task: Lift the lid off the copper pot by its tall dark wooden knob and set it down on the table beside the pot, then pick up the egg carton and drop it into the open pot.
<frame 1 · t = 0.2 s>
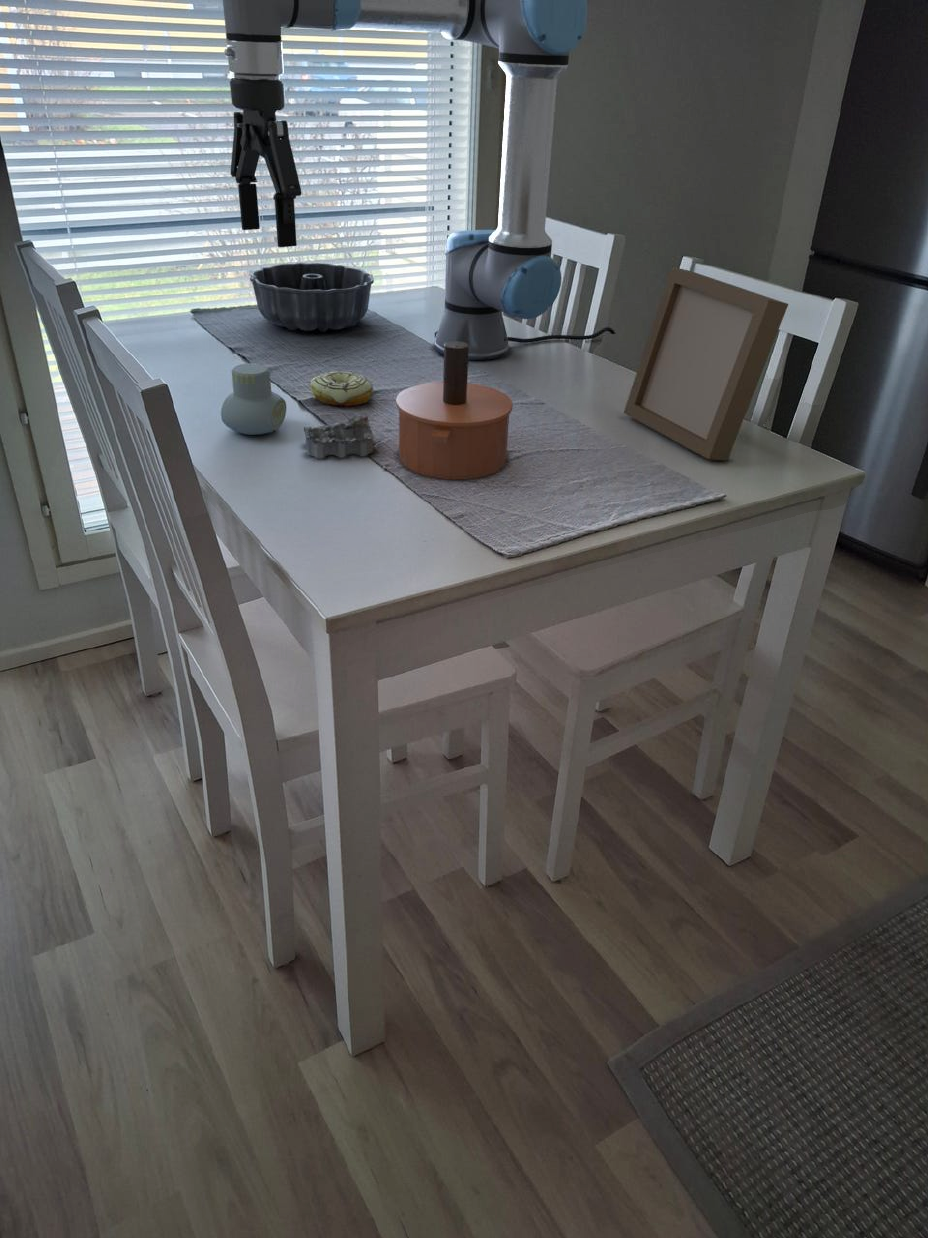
hand: (268, 237, 140), 28 cm above the table, tool pointing down, fingers open, 13 cm apart
egg carton: (339, 450, 143), on the table
decorated donut: (342, 399, 161), on the table
lid: (454, 404, 137), point 8 cm above the table, touching pot
pot: (452, 456, 142), on the table
air freshener: (256, 430, 148), on the table
photo frame: (696, 434, 154), on the table
bundt pan: (314, 322, 200), on the table
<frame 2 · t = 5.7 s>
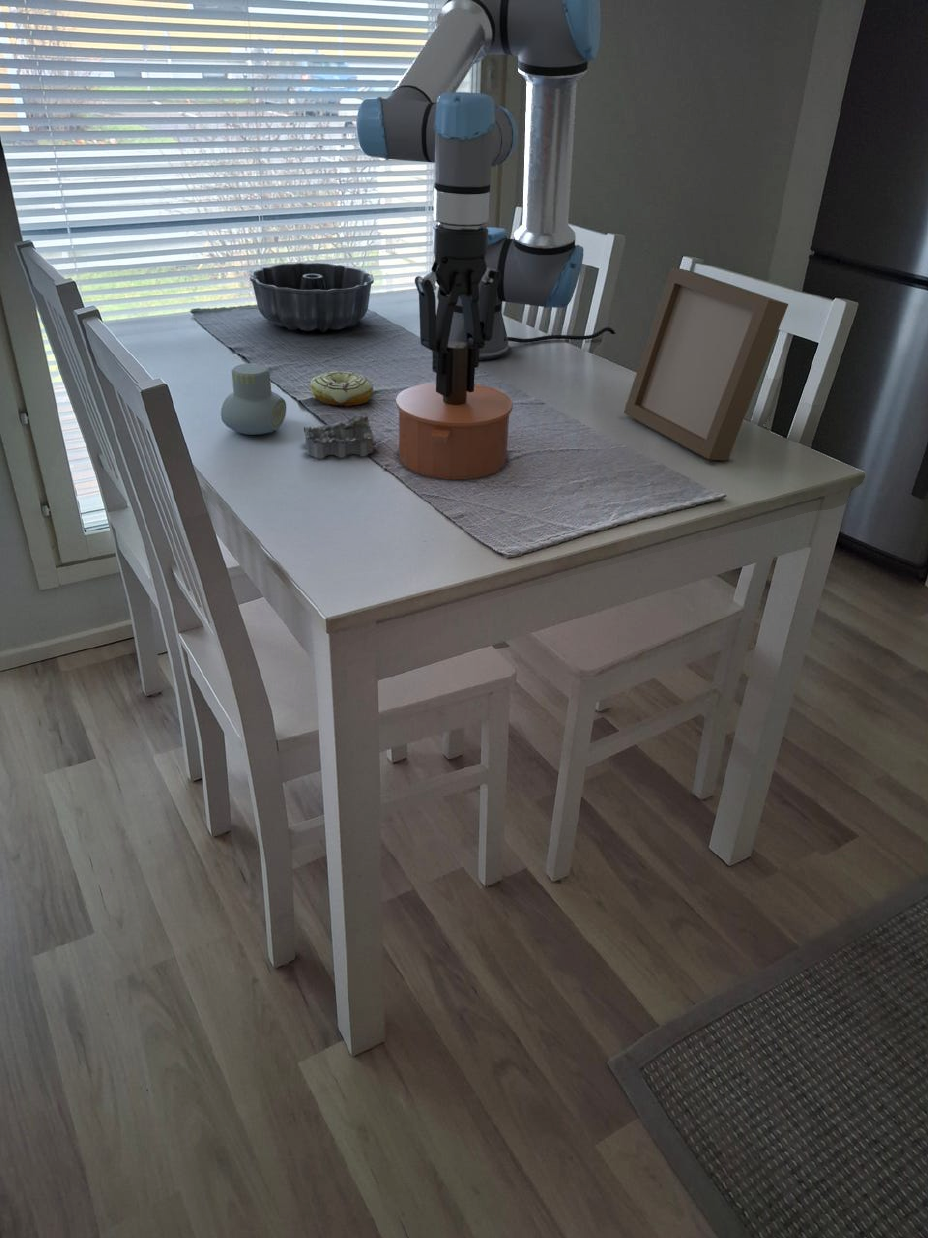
hand: (454, 391, 136), 11 cm above the table, tool pointing down, fingers closed on lid, 4 cm apart
lid: (454, 404, 137), point 9 cm above the table, touching gripper, pot
everything else where it was.
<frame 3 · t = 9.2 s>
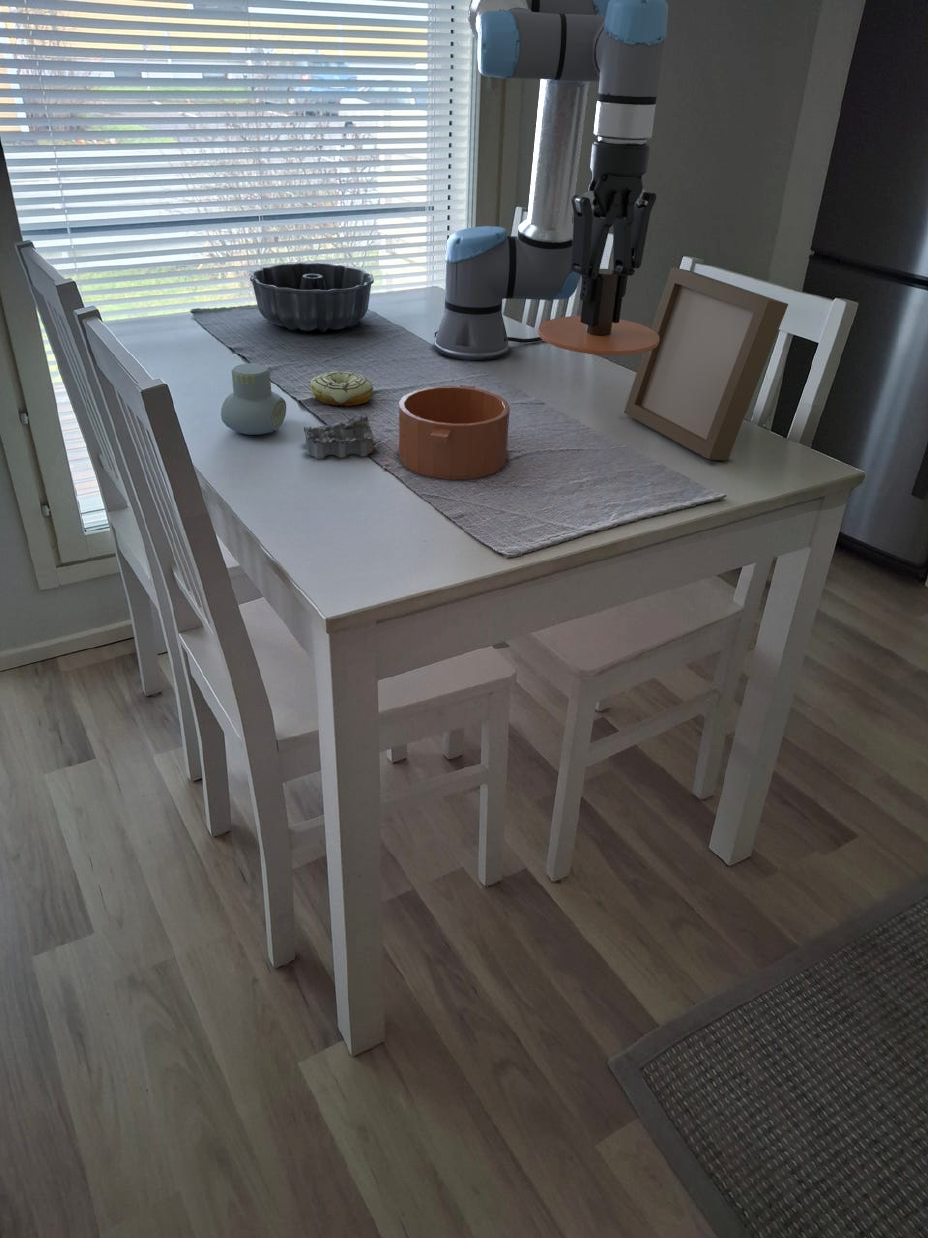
hand: (599, 321, 131), 22 cm above the table, tool pointing down, fingers closed on lid, 4 cm apart
lid: (598, 336, 132), point 19 cm above the table, touching gripper
everything else where it was.
when the fingers open (3 cm above the table, at t = 12.8 s): lid stays where it is, point 1 cm above the table.
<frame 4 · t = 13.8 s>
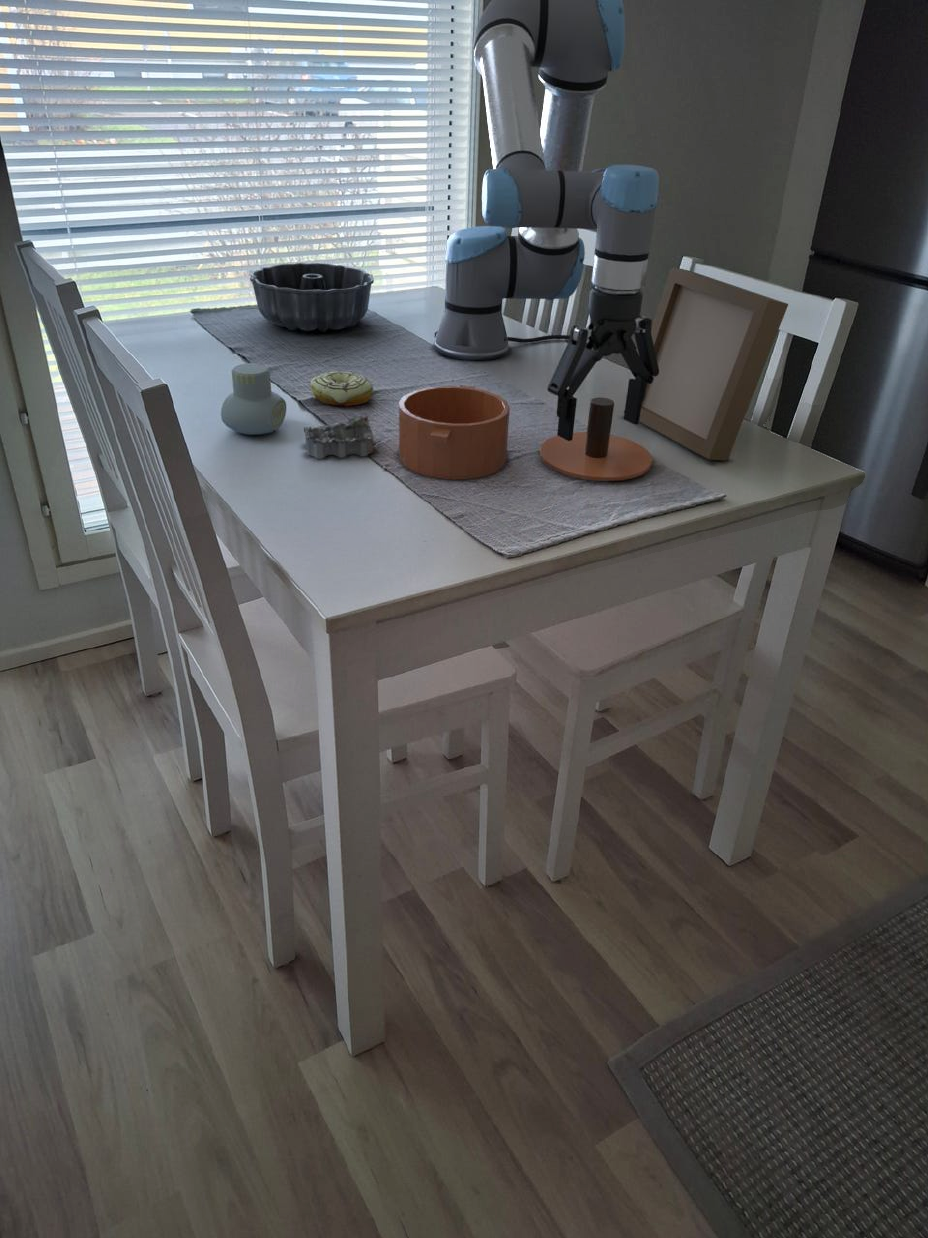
hand: (598, 429, 140), 5 cm above the table, tool pointing down, fingers open, 13 cm apart
lid: (595, 457, 143), point 1 cm above the table
everything else where it was.
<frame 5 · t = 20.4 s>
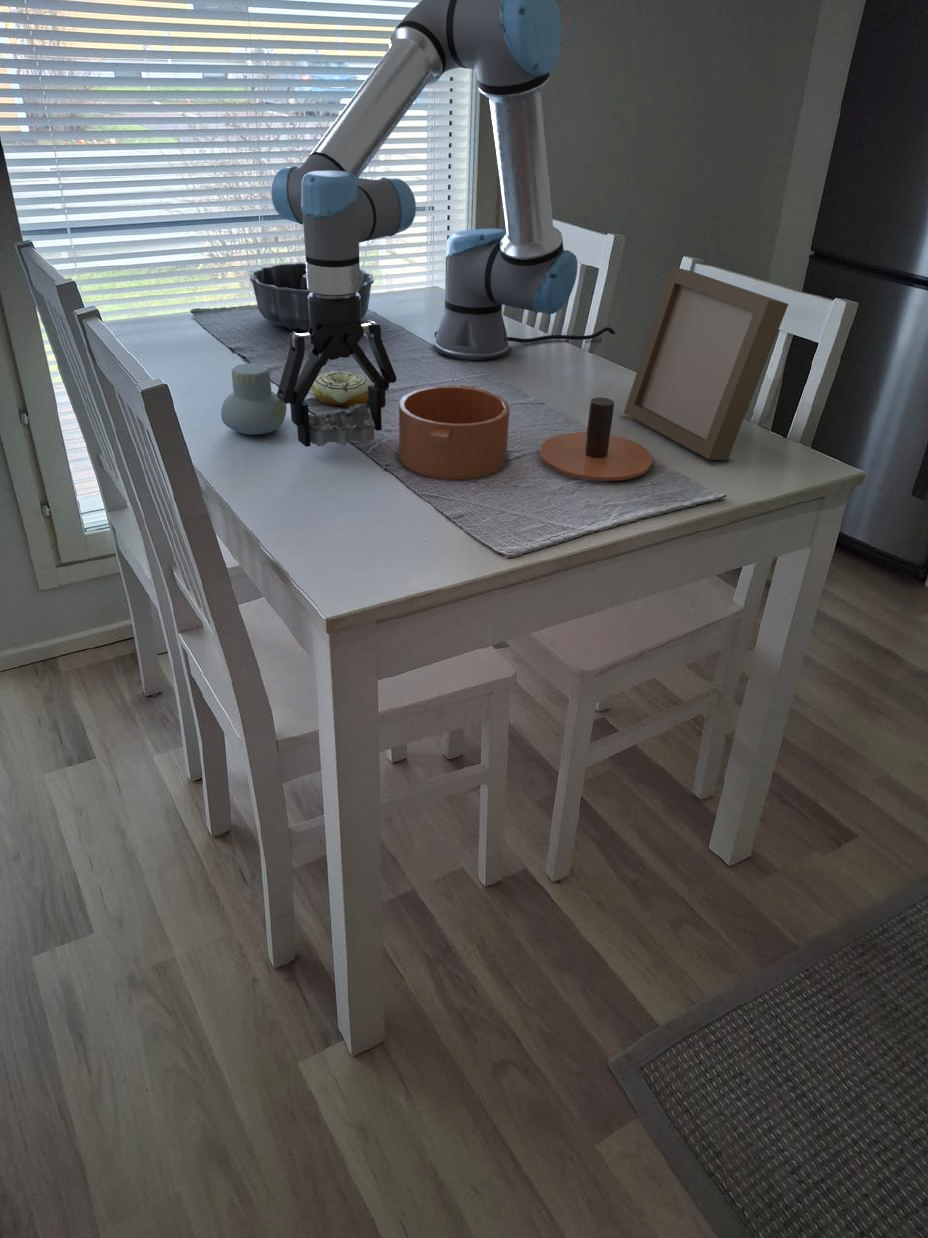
hand: (340, 435, 141), 2 cm above the table, tool pointing down, fingers closed on egg carton, 12 cm apart
egg carton: (340, 437, 142), point 2 cm above the table, touching gripper
everything else where it was.
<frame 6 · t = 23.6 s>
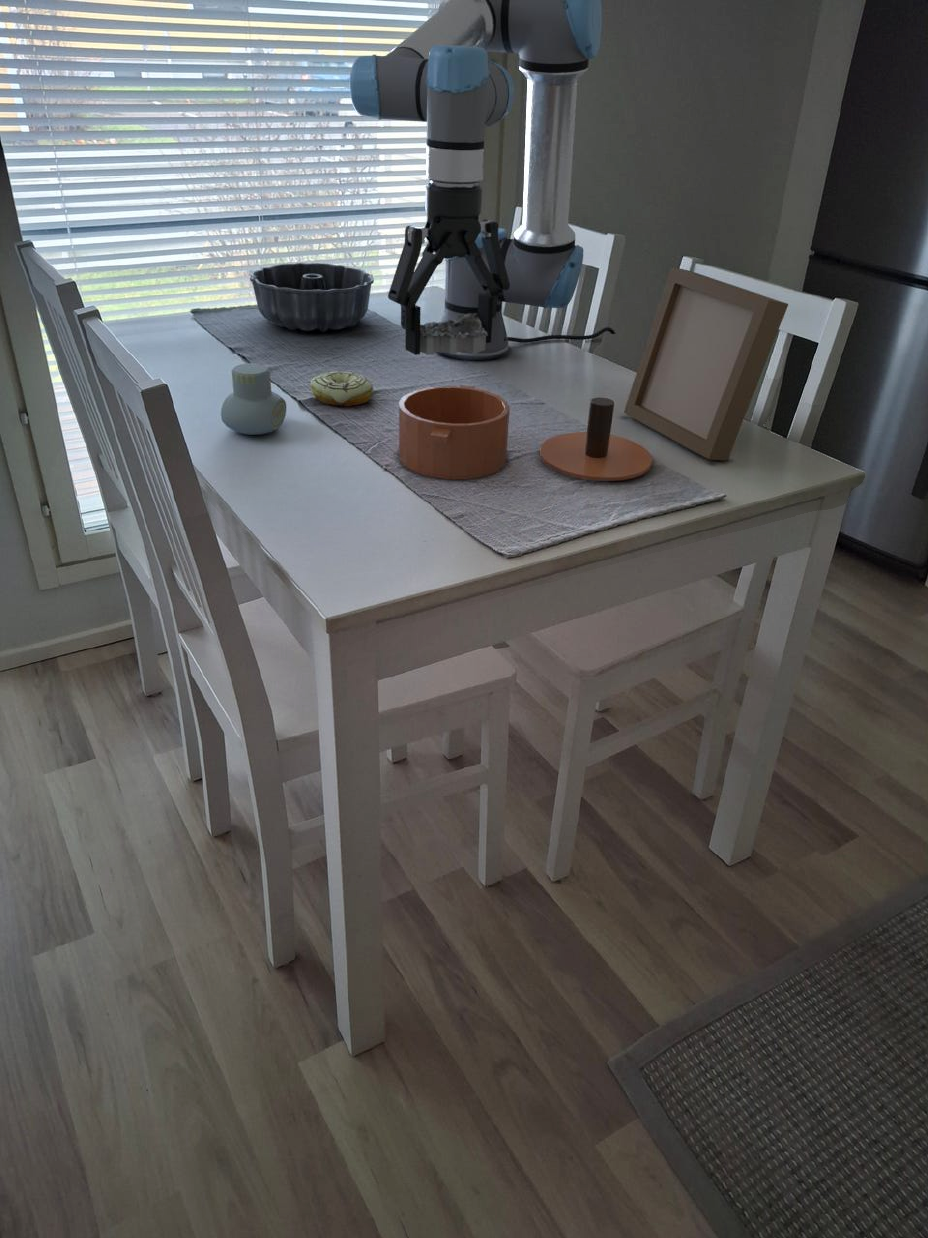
hand: (449, 346, 132), 17 cm above the table, tool pointing down, fingers closed on egg carton, 12 cm apart
egg carton: (448, 348, 133), point 17 cm above the table, touching gripper
everything else where it was.
when the fingers open (6 cm above the table, at t = 27.0 s): egg carton drops 5 cm, resting on pot.
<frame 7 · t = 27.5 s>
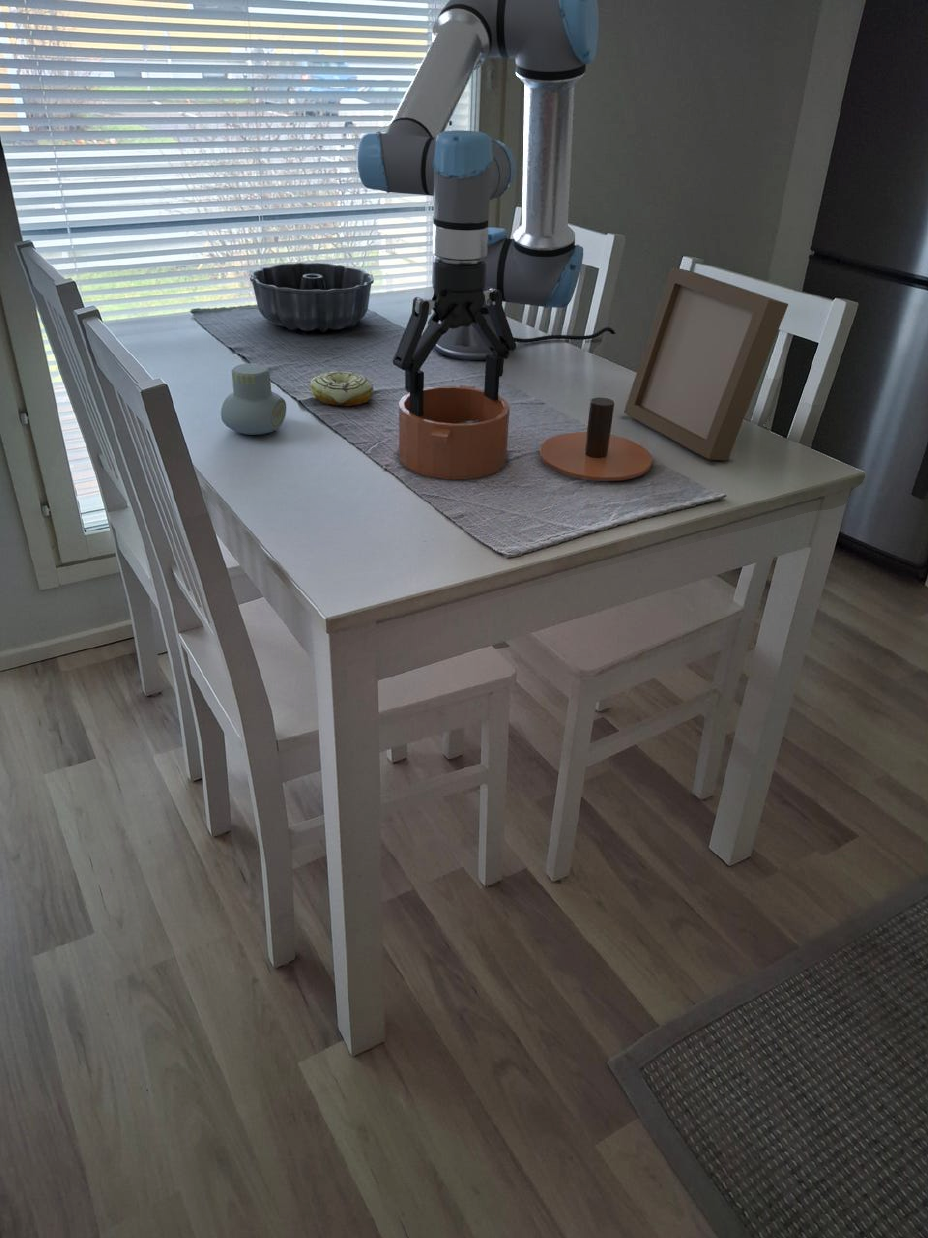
hand: (454, 405, 137), 8 cm above the table, tool pointing down, fingers open, 13 cm apart
egg carton: (452, 454, 142), resting on pot
everything else where it was.
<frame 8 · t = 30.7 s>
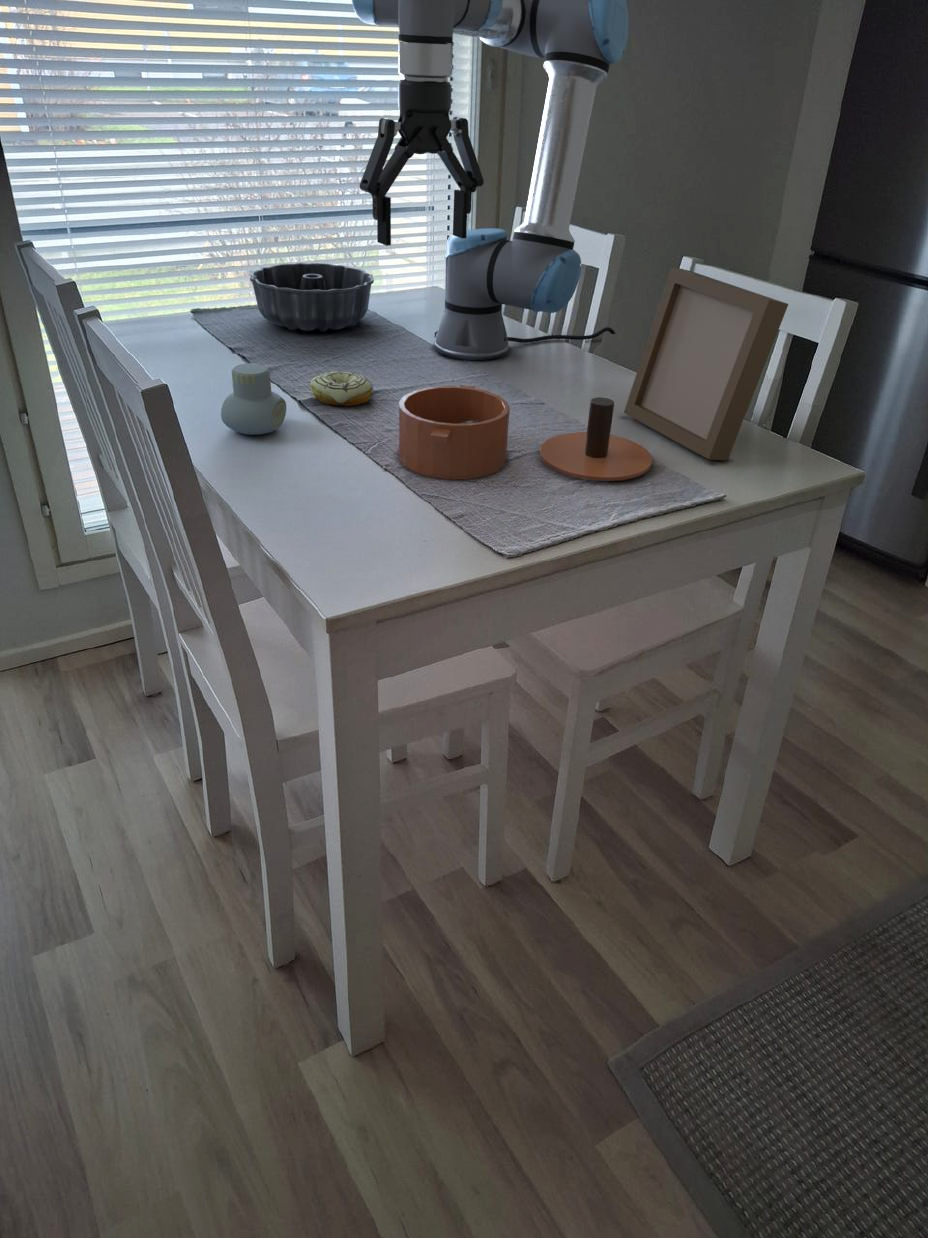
hand: (422, 240, 139), 29 cm above the table, tool pointing down, fingers open, 13 cm apart
nothing on the table moved.
at the end: lid inside the target area on the table beside the pot (0.1 cm from its centre), point 0.6 cm above the table; egg carton inside the target area in the pot (0.3 cm from its centre), point 0.3 cm above the pot's base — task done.
